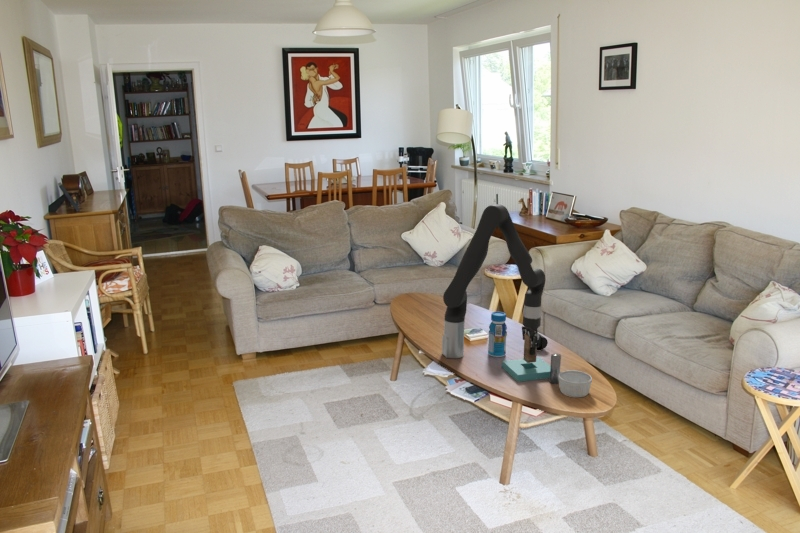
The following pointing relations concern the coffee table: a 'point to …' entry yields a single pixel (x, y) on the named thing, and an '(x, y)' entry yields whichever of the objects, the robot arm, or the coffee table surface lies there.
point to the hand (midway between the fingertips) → (530, 352)
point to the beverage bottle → (497, 335)
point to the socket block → (527, 369)
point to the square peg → (528, 350)
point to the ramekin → (574, 383)
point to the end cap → (542, 343)
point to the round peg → (555, 368)
